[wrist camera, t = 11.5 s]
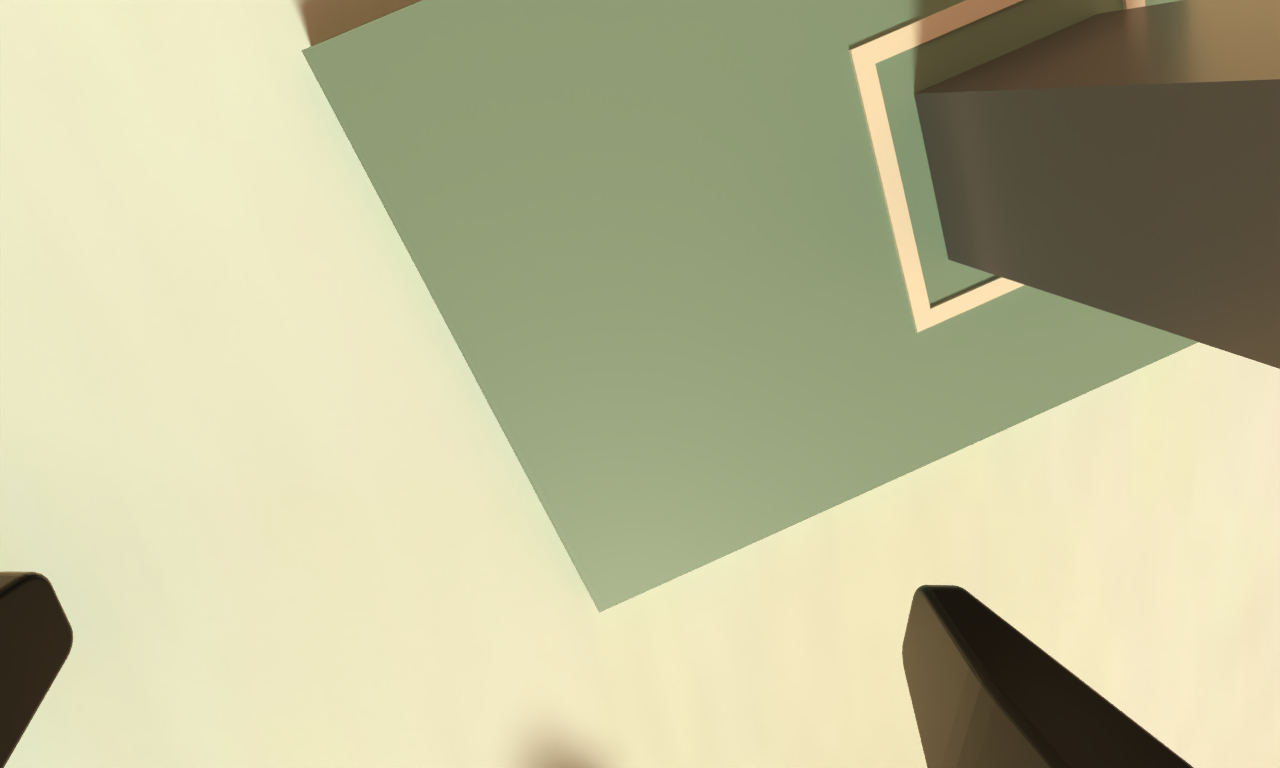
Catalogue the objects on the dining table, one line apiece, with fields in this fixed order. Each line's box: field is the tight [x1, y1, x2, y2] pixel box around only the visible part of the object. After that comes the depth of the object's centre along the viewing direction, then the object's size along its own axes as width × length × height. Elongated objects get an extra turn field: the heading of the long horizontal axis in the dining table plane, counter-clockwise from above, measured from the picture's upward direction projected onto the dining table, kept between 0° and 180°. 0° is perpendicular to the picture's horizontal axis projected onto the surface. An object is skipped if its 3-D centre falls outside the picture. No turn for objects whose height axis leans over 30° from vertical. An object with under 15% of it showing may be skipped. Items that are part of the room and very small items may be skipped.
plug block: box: [914, 0, 1280, 369], centre depth 14 cm, size 5×4×10 cm
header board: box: [302, 0, 1198, 612], centre depth 18 cm, size 20×16×2 cm
